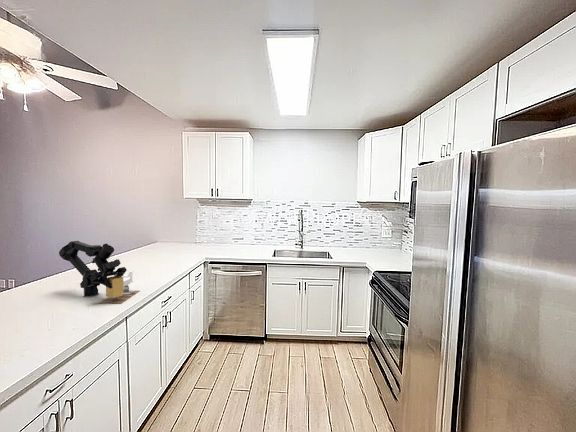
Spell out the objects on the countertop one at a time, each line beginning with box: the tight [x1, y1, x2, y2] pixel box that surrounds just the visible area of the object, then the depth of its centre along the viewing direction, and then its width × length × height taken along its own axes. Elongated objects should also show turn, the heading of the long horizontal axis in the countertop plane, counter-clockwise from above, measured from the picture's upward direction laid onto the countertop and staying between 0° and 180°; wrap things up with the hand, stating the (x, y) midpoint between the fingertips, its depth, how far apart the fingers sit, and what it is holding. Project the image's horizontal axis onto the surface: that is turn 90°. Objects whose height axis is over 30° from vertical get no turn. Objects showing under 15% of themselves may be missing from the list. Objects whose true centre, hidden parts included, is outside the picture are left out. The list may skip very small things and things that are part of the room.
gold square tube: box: [105, 275, 123, 298], centre depth 189 cm, size 6×6×10 cm
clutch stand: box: [97, 284, 141, 305], centre depth 196 cm, size 26×12×6 cm, turn 1°
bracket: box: [121, 270, 133, 287], centre depth 229 cm, size 13×7×8 cm, turn 1°
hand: (116, 286), depth 188 cm, fingers closed on gold square tube, 6 cm apart
